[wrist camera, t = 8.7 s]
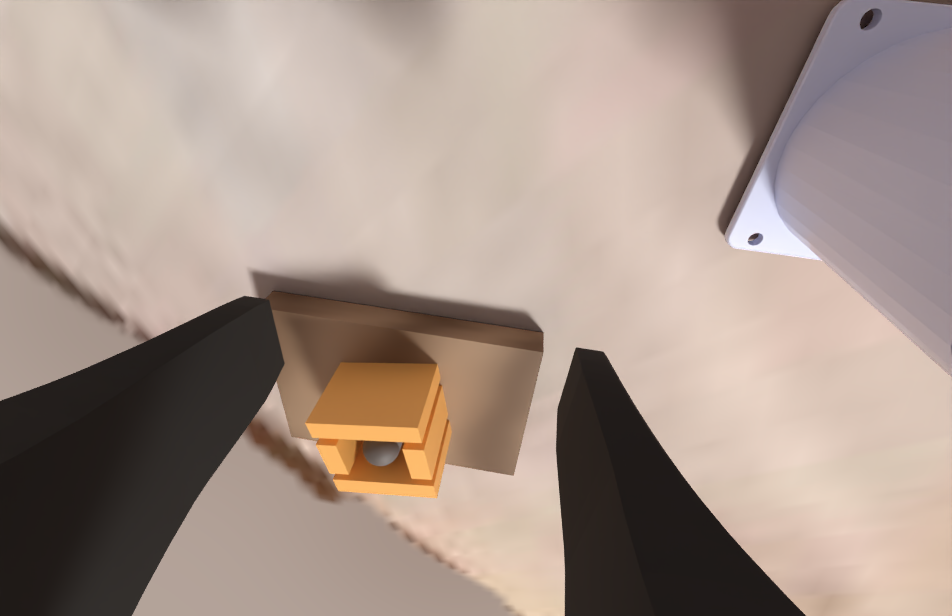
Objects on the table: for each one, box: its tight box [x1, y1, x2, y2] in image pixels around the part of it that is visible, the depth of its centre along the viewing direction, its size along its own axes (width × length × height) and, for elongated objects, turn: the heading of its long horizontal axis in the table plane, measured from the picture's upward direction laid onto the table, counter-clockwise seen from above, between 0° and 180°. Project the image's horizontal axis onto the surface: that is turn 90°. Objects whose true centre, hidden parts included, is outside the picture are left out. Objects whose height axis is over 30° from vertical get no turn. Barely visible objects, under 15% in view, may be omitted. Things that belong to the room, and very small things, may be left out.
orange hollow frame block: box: [305, 362, 452, 498], centre depth 21 cm, size 5×5×4 cm
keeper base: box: [266, 291, 543, 476], centre depth 22 cm, size 14×10×5 cm
